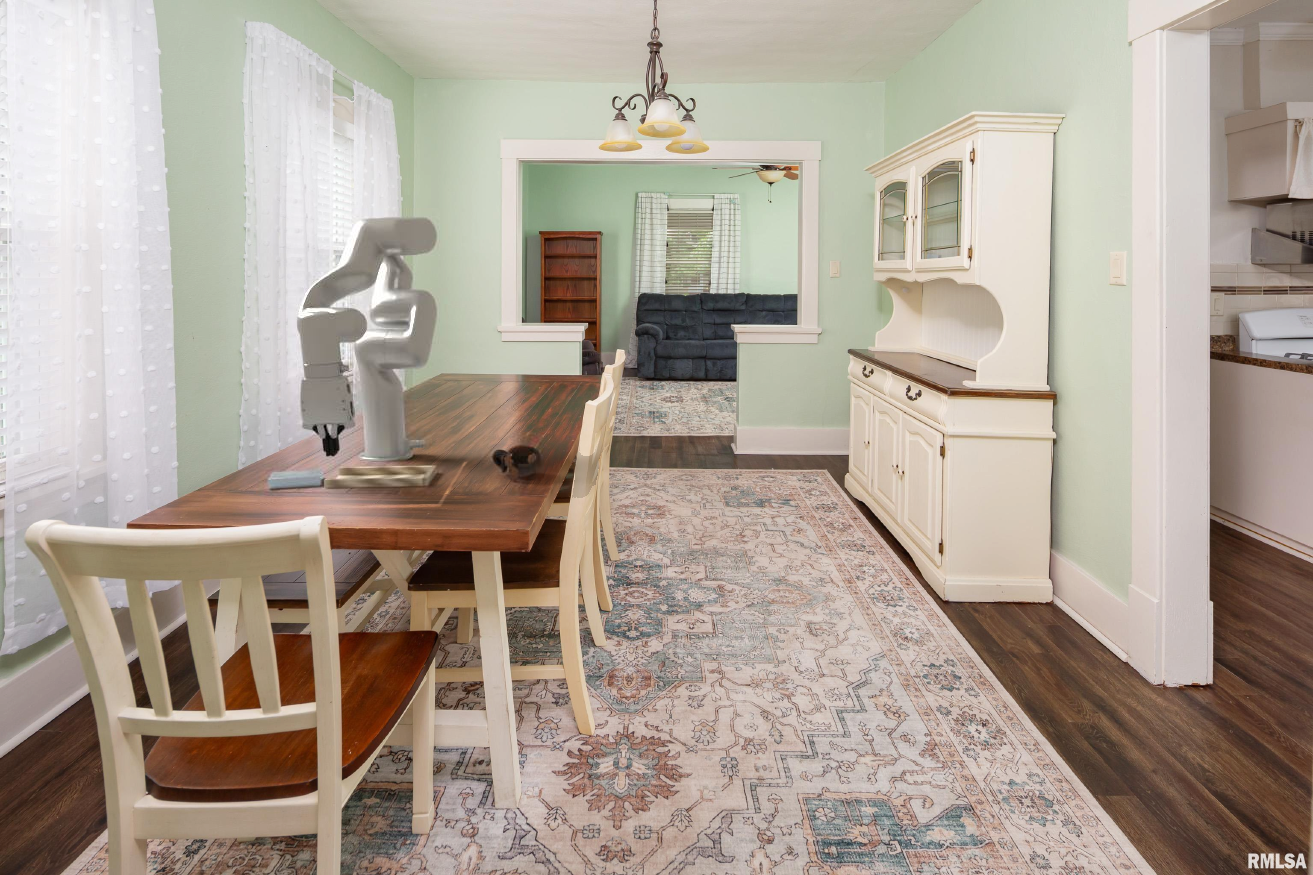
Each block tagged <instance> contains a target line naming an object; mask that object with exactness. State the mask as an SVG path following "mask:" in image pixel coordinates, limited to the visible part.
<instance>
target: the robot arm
mask: <svg viewBox="0 0 1313 875" xmlns="http://www.w3.org/2000/svg"><path fill="white" fill-rule="evenodd" d="M437 235H438V233H437V229H436V227H435V225H434V222H432V221H431V220H430V219H429V218H427V217H424V216H421V217H413V216H412V217H411V216H410V217H408V216H407V217H401V216H400V217H378V218H375V217H374V218H364V219H361V220H358V221H357V222H356V223H355V225H354V226H353V228H352V231H351V232H350V235H349V238H348V239H347V242H346V246H345V248H344V249H343V250H344V251H343V253H342V255H341V257H340V258H341V259H340V261H339V263H338V265H337V266H336V267H335V268H333V269H332V270H330V271H329V272H327V273H326V274H325V275H323V276H322V277H321V278H319V280H317V281H316V282H314V284H312V286H310V288H309V289H308V291H307V292H306V293H305V296H304V297H303V299H302V302H301V305H300V308H299V310H298V314H297V317H296V329H297V331H298V334H299V337H300V340H299V341H300V348H301V349H300V350H301V358H302V366H303V374H304V377H302V378H301V382H300V392H299V393H300V394H299V396H300V397H299V398H300V400H299V401H300V402H299V404H300V416H301V422H302V424H301V425H302V429H304V430H307V431H313V432H314V433H316V435H318V436H319V438H320V439H321V441H322V443H321V444H322V449H323V450H322V451H323V453H325V456H326V457H335V456H336V455H338V452H340V448H341V447H340V440H339V436H340V434H342V433H343V432H344V430H345V431H346V430H350V429H352V428H354V427H355V426H356V422H355V419H354V418H355V415H356V411H355V403H354V398H353V393H352V388H351V384H350V380H349V378H348V375H345V372H349V371H350V365H349V364H344V363H343V360H342V354H341V343H342V344H343V343H345V344H346V343H349V344H351V343H353V351H354V356H355V359H356V363H357V367H358V373H359V377H360V378H359V379H360V388H361V389H360V390H361V404H362V408H361V409H362V418H363V419H362V420H363V421H362V423H363V437H364V450H365V451H363V452H361V453H359V454H358V459H359V461H362V462H363V461H365V462H393V461H406V460H409V459H411V458H412V457H413V455H414V454H413V450H414V449H422V448H423V449H425V448H426V440H425V439H420V440H418V439H409V438H407V437H406V430H405V428H406V427H405V426H406V425H405V408H404V389H403V385H402V382H401V380H400V378H399V377H398V375H397V374H396V373H395V370H419V369H423V368H424V367H425V365H427V363H428V360H429V358H430V355H431V354H430V353H431V350H432V344H433V340H434V339H433V338H434V333H435V328H436V324H437V323H436V322H437V315H438V314H437V313H438V310H437V303H436V299H435V297H434V296H433V295H432V294H431V293H430V292H429V291H427V290H424V289H413V288H412V284H413V281H414V280H413V278H414V277H413V274H412V270H411V269H410V268H409V266H408V264H407V263H406V262H405V260H403V259H402V258H401V256H404V257H405V256H417V255H422V254H428V253H430V252H431V251H433V249H434V248H435V246H436V244H437V240H438V236H437ZM373 286H374V287H373ZM372 287H373V292H372V296H371V301H370V306H369V319H370V321H371V322H372V324H373V325H375V326H376V327H380V328H370V329H368V321H367V318H366V316H365V315H364V313H363V312H362V311H360V310H358V309H355V308H352V307H334V306H333V305H335V303H337V302H338V301H340V300H342V299H345V298H348V297H351V296H352V295H355V294H356V295H357V294H358V293H361V292H363V291H366V290H368V289H370V288H372ZM328 425H331V429H330V431H329V428H328Z"/></svg>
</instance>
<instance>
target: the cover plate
mask: <svg viewBox="0 0 1313 875" xmlns="http://www.w3.org/2000/svg"><path fill="white" fill-rule="evenodd" d="M323 471H324V469H322V468H321V469H319V468H317V469H304V470H303V469H302V470H287V471H273V472H272V473H271V474H270V476H268V478H267V485H268V490H275V489H277V490H278V489H291V488H292V489H293V488H307V487H320V486H321V485H322V482H323V481H324V472H323Z"/></svg>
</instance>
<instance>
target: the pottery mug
mask: <svg viewBox="0 0 1313 875" xmlns="http://www.w3.org/2000/svg"><path fill="white" fill-rule="evenodd" d="M533 454H534V455H535V456H536V458H535V459H534V461H532V462H530V461H529V457H530V456H533ZM491 458H492V461H493V463H494V464H495V465H496V466H497V467H498V468H499V469H500V470H501V472H502V473H506V472H507V471H508V472H509V476H508V477H509V480H510V481H511V482H513V483H514V482H515V483H516V482H517V480H518V478H519V479H521V478H525V477H527V476H531V475H534V474H535V473H536V472H538V471H539V470H540V468H542V467H543V468H544V464H543V462H542V457H541V454H540V452H539V450H538V449H537V448H535V447H533V446H530V445H526V444H518V445H514V446H512V447H510V448H509V449H508V450H504V449H496V450H495V451H494V452H493V453H492V456H491Z"/></svg>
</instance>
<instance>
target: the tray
mask: <svg viewBox="0 0 1313 875" xmlns="http://www.w3.org/2000/svg"><path fill="white" fill-rule="evenodd" d="M437 466H438V465H396V466H395V465H394V466H393V465H391V466H390V465H389V466H387V465H385V466H383V465H382V466H381V465H380V466H340V467H339V468H338V473H339V475H338V476H337V477H336V478H324V479H323V484H324V485H323V487H324V489H331V488H332V489H334V488H335V489H336V488H379V487H380V488H381V487H384V488H386V487H389V488H391V487H394V488H395V487H428V486H429V485H430V483H431V481H432V480H433V478H434V477H435V476H436V475H437V472H438V469H437Z"/></svg>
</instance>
